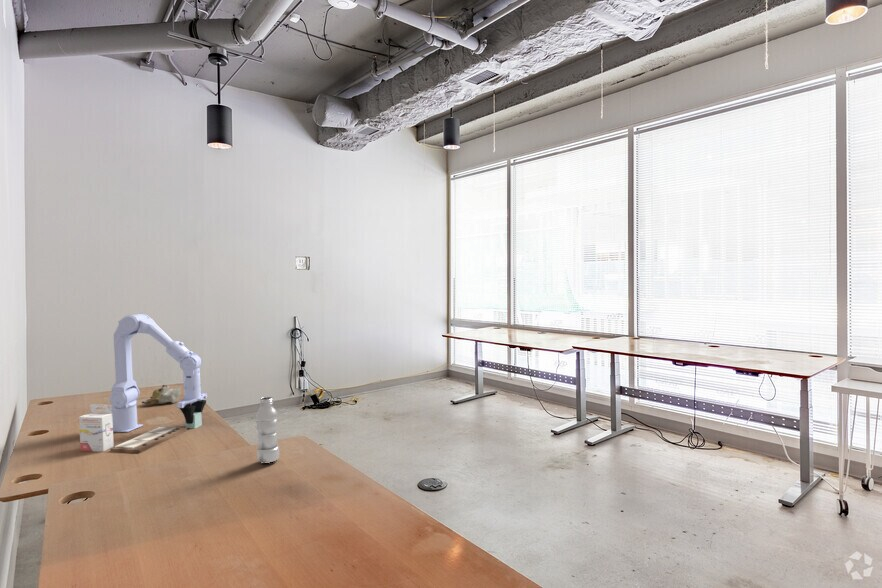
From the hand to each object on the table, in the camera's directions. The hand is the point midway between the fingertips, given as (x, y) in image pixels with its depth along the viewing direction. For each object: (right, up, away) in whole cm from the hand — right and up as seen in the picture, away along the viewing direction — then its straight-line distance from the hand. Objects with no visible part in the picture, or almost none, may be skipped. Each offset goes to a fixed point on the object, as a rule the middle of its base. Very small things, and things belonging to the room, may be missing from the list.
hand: (193, 421), depth 188 cm
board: (-8, -3, -15) cm, 17 cm away
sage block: (0, -2, 0) cm, 2 cm away
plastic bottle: (+42, -3, -36) cm, 55 cm away
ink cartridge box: (-21, -4, -23) cm, 31 cm away
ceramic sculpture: (-31, -1, +34) cm, 46 cm away
